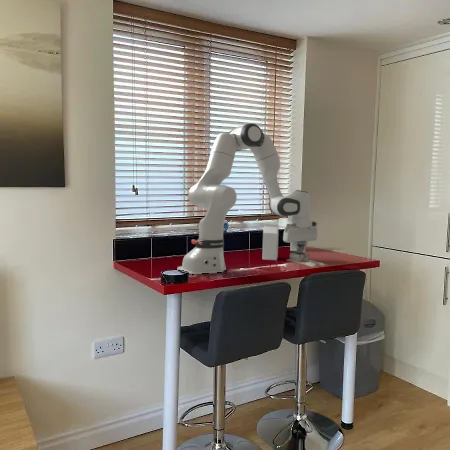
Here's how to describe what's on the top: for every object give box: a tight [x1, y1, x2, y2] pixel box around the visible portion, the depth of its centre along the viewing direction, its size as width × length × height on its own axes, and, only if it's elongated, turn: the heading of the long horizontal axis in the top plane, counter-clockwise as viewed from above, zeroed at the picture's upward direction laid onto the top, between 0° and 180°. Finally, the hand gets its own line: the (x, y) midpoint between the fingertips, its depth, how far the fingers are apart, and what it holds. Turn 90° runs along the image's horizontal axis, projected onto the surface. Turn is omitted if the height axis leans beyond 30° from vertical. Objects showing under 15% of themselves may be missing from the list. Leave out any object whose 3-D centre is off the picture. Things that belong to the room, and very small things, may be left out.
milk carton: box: [261, 223, 279, 261], centre depth 230 cm, size 7×7×19 cm
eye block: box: [286, 251, 329, 268], centre depth 223 cm, size 11×19×5 cm, turn 34°
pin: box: [296, 241, 306, 255], centre depth 226 cm, size 6×6×10 cm
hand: (299, 250), depth 226 cm, fingers closed on pin, 3 cm apart
